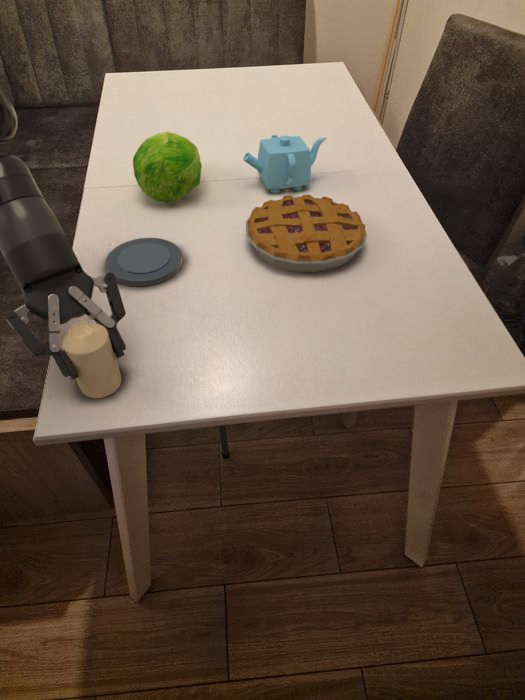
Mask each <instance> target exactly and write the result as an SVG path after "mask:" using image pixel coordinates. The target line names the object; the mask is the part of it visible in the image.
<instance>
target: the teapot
mask: <svg viewBox="0 0 525 700" xmlns="http://www.w3.org/2000/svg"><path fill="white" fill-rule="evenodd" d="M326 140H328V137H320V138H317V139H316V140H315V141H314V142H313V144H312V147H311V150H310V148H309V146H308V145H307V144H306V142H305V141H304V140H303V138H301V136H299V135H292V136H288V135H282V136H279V137H278V135H277V134H272V135H271V136H270V138H264V139H260V141H259V147H258V155H257V157H255V156H254V155H252V154H251V153H250V152H245V154H244V155H243V158H242V160H243V162H245V163H246V164H248V165H249V166H251V167H252V168H254V169H255V170H256V171H257V172H258V175H259V177H260V180H261V181H262V183H263V185H264V186H265V188H266V189H267V190H270V193H273V194H278V193H280V192H281V189H288V188H292V190H294V191H301V190H303V188H302V186H308V185H309V184H310V181H311V176H312V166H313V165H314V163H315V162H316V159H317V156H318V152H319V149H320V147H321V145H322V144H323V143H324V142H325V141H326Z"/></svg>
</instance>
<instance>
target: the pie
mask: <svg viewBox="0 0 525 700" xmlns="http://www.w3.org/2000/svg"><path fill="white" fill-rule="evenodd" d="M245 236H246V237H247V239H248V240H249V241H250V243H251V244H252V246H253V247H254V249H255V250H256V251H257V252H258V254H259V255H260V257H261V258H262V259H263V260H264V261H265V262H267V264H270V265H271V266H273V267H274V268H276V269H278V270H282V271H287V272H288V271H289V272H293V273H319V272H323V271H328V270H332V269H336V268H339V267H341V266H342V265H344V264H346V263H348V262H349V261H351V260H352V259H353V258H354V256H355V255H356V254H357V252H358V251H360V250H362V249H363V247H364V244H365V242H366V239H367V236H368V234H367V231H366V224H365V223H363V220H362V218H361V216H360V214H359V213H358V211H353V210H351V209H350V206H349V205H348V204H345V203H341V202H340V203H338V202H335V201H334V200H333V198H331V197H327V196H322V197H319V198H318V197H314V196H312V195H311V194H303V195H300V196H295V197H294V196H292V195H290V194H287V195H283V196H282V197H281V199H277V200H274V199H269V200H267V201H264V202H263V203H262V206H260V207H259V206H255V207H254V208H253V209H252V211H251V213H250V215H249V217H248V218H247V219H246V221H245Z"/></svg>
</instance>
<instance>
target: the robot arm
mask: <svg viewBox="0 0 525 700" xmlns="http://www.w3.org/2000/svg"><path fill="white" fill-rule="evenodd" d="M18 125H19V121H18V115H17V112H16V110H15V107H14V105H13V103H12V101H11V100H10V97H9V96H8V94H7V92H6V91H5V88H4V87H3V85H2V84H1V83H0V144H5V143H7V142H9V141H11V140H13V138H14V137H15V135H16V133H17V131H18V127H19V126H18ZM0 254H1V256H3V258H4V260H5V262H6V263H7V266H8V267H9V269H10V271H11V273H12V275H13V277H14V279H15V280H16V282H17V284H18V286H19V288H20V290H21V291H22V294H23V296H24V304H22V305H21V306H19V307H17V308H16V309H15V310H8V311H7V312H6V313H5V321H6V322H7V324H8V325H9V326H10V327H11V328H12V330H13V331H14V332H15V334H16V335H17V336H18V337H19V338H20V340H21V341H22V342H23V343H24V344H25V346H26V347H27V348H28V349H29V351H30V352H31V353H32V355H34V356H36V357H37V356H44V355H45V356H47V355H48V356H51V357H52V358H53V360H54V362H55V364H56V365H57V367H58V369H59V371H60V373H61V375H62V376H63V377H64V378H68V377H69V378H70V379H71V381H74V380H76V378H78V375H77V373H76V371H75V369H74V367H73V365H72V363H71V361H70V359H69V358H68V356H67V354H66V352H65V350H64V349H63V347H62V340H61V326H62V325H65V324H67V323H69V322H70V321H71V320H72V319H73V320H74V319H78V318H81V317H83V316H87V318H89V319H90V320H91V321H93V322H94V323H97V324H100V325H102V326H104V327H105V328H106V329H107V331H108V335H109V338H110V341H111V344H112V348H113V351H114V354H115V357H116V359H120V358H122V357H124V356H125V352H124V351H126V350H127V345H126V344H125V340H124V339H123V337H122V335H121V334H120V331H119V330H118V327H117V326H118V323H119V322H120V321H121V320H122V319H123V318H124V317H126V314H127V312H126V309H125V305H124V302H123V299H122V296H121V292H120V288H119V285H118V282H116V279H115V276H114V274H113V273H108V272H107V273H105V274H104V275H101V276H97V277H96V276H95V277H92V276H90V275H89V274H88V273H87V272H86V271H85V270H84V268H83V266H82V265H81V263H80V261H79V259H78V257H77V255H76V254H75V251H74V249H73V248H72V246H71V244H70V242H69V240H68V238H67V236H66V233H65V231H64V230H63V227H62V226H61V224H60V222H59V220H58V218H57V216H56V214H55V213H54V212H53V210H52V209H51V207H50V206H49V204H48V202H47V201H46V199H45V198H44V196H43V193H42V192H41V189H40V188H39V186H38V183H37V182H36V180H35V179H34V176H33V174H32V173H31V170H30V169H29V167H28V165H27V164H26V163H25V161H23V159H22V158H20V157H18V156H15V155H12V154H0ZM94 287H96V288H98V290H99V292H100V293H102V294H105V295H106V298H107V301H108V304H109V308H110V311H111V315H109V314H107V313H106V312H105V311H104V310H103V308H102V307H100V306H99V305H98V304H97V303H96V302H95V301H93V300H92V297H93V293H94ZM29 313H31V314H33V315H35V316H37V317H39V318H41V319H43V320H45V321H47V335H48V336H47V337H48V342H47V343H41V342H40V341H39V339H38V338H37V337H36V336H35V335H34V333H33V332H32V331H31V330H30V328H29V327H28V325H29V323H30V319H29V317H28V315H29Z"/></svg>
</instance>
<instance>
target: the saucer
mask: <svg viewBox="0 0 525 700" xmlns="http://www.w3.org/2000/svg"><path fill="white" fill-rule="evenodd" d="M182 265H183V255H182V251H181V249H180V248H179V246H177V245H176V244H175V243H174V242H171V241H170V240H168V239H164V238H158V237H141V238H135V239H130V240H128V241H125V242H123V243H121V244H118V245H117V246H115V247H114V248H113V249H112V250H111V251H110V252H109V253H108V254H107V256H106V259H105V268H106V272H107V273H113V274H114V276H115V279H116V282H117V284H121V285H123V286H128V287H133V288H134V287H137V288H138V287H139V288H141V287H142V288H143V287H151V286H155V285H159V284H161V283H164V282H166V281H169V280H170V279H172V278H173V277H174V276H176V275H177V274H178V273H179V271H180V270H181V268H182Z"/></svg>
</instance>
